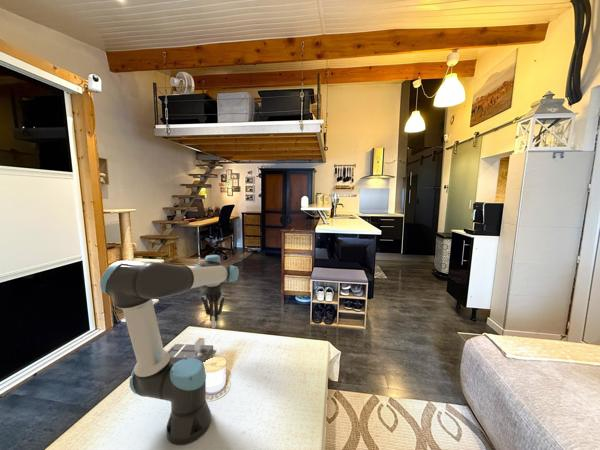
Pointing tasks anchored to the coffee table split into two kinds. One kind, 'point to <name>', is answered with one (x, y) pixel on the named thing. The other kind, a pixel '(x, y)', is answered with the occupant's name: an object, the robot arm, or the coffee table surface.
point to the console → (188, 352)
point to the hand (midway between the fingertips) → (214, 326)
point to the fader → (199, 345)
